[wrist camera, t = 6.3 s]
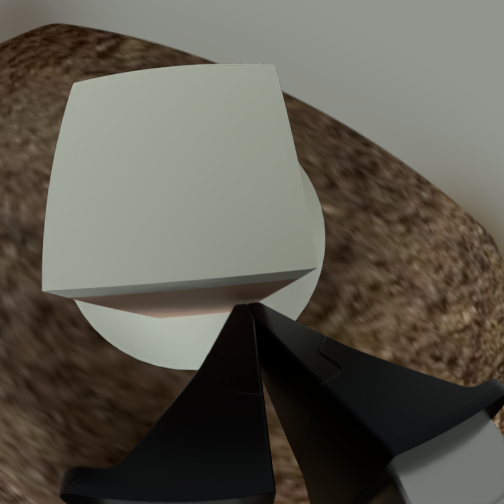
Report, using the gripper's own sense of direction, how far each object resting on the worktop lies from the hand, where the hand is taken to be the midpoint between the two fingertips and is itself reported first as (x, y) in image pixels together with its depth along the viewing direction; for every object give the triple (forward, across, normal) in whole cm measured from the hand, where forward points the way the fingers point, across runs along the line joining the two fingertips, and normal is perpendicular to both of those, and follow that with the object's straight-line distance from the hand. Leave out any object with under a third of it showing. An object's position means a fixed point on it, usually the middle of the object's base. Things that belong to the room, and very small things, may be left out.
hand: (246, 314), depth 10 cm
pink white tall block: (+6, -2, -2) cm, 7 cm away
